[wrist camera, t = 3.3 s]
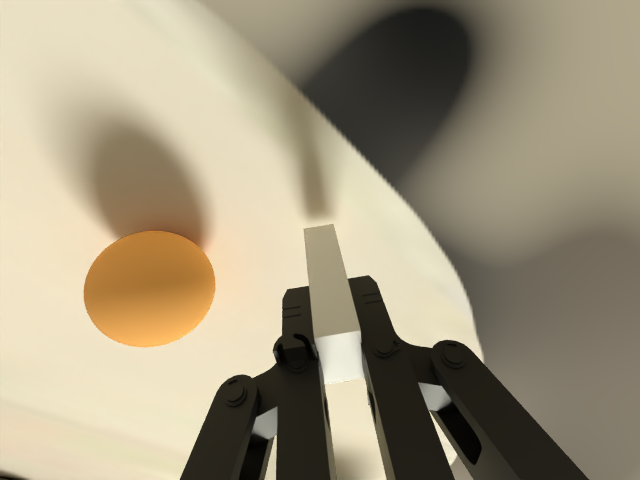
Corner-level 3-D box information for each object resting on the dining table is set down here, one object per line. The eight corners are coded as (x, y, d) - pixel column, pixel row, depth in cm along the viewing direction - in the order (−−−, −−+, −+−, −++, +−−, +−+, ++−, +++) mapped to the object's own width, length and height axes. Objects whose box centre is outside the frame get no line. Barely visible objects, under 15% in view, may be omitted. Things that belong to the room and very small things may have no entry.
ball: (146, 296, 18) (101, 380, 14) (97, 219, 15) (18, 296, 11) (235, 281, 18) (219, 361, 14) (204, 202, 15) (169, 271, 11)
